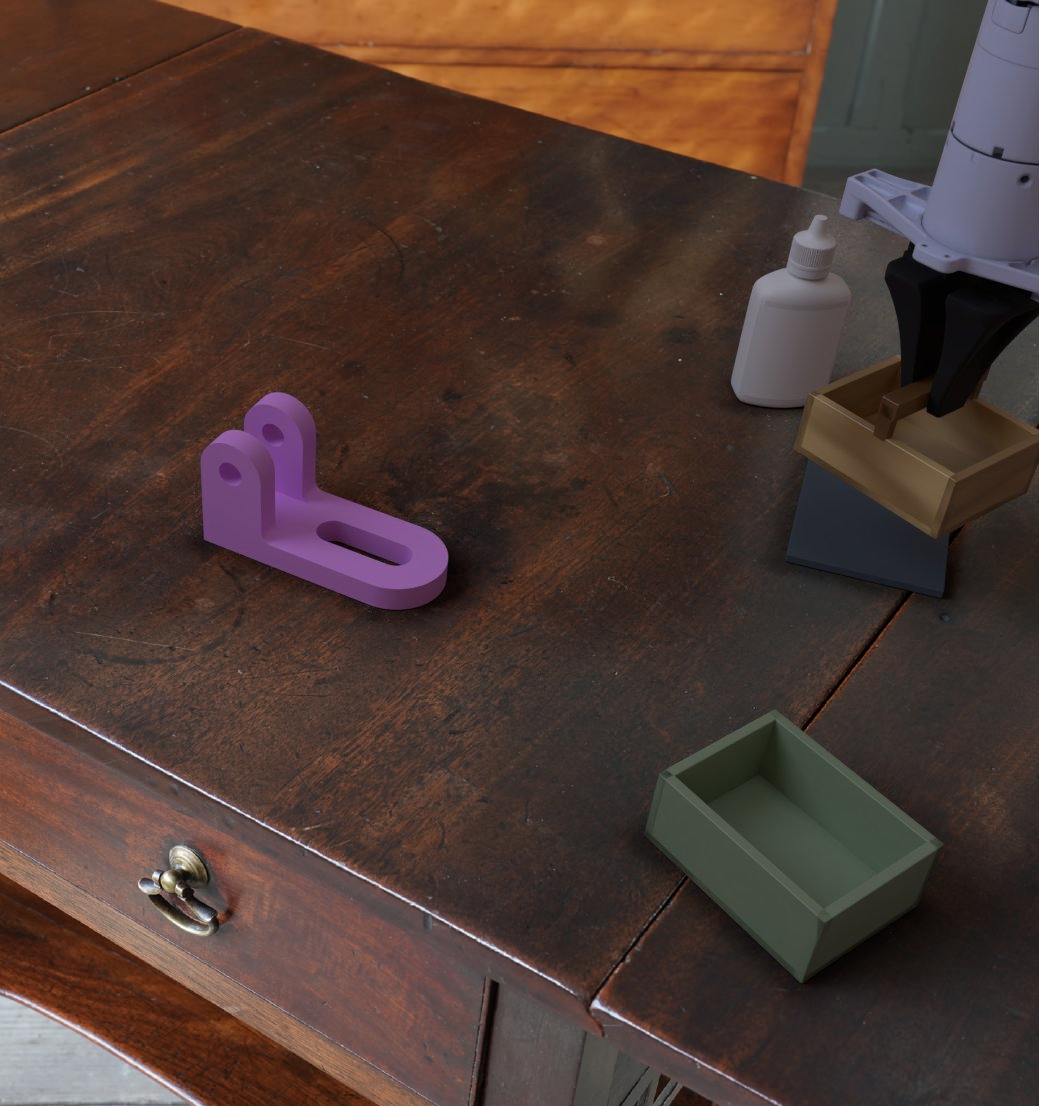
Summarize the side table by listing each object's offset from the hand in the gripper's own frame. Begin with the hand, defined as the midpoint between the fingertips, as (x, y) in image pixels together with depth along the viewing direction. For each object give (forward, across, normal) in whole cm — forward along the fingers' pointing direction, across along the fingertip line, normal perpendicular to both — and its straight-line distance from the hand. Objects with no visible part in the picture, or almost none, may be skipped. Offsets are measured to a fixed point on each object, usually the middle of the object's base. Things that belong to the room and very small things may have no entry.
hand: (931, 401), depth 72 cm
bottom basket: (+10, +12, -20) cm, 26 cm away
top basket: (+4, 0, 0) cm, 4 cm away
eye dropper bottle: (+10, -14, +8) cm, 19 cm away
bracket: (+10, -16, -24) cm, 31 cm away
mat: (+10, -3, +4) cm, 11 cm away
